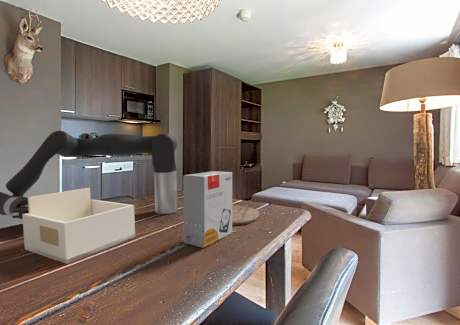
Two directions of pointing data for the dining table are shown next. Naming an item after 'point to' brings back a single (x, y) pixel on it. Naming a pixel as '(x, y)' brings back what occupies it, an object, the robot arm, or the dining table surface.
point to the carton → (79, 232)
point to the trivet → (243, 215)
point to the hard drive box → (207, 207)
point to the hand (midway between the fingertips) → (48, 212)
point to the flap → (62, 205)
